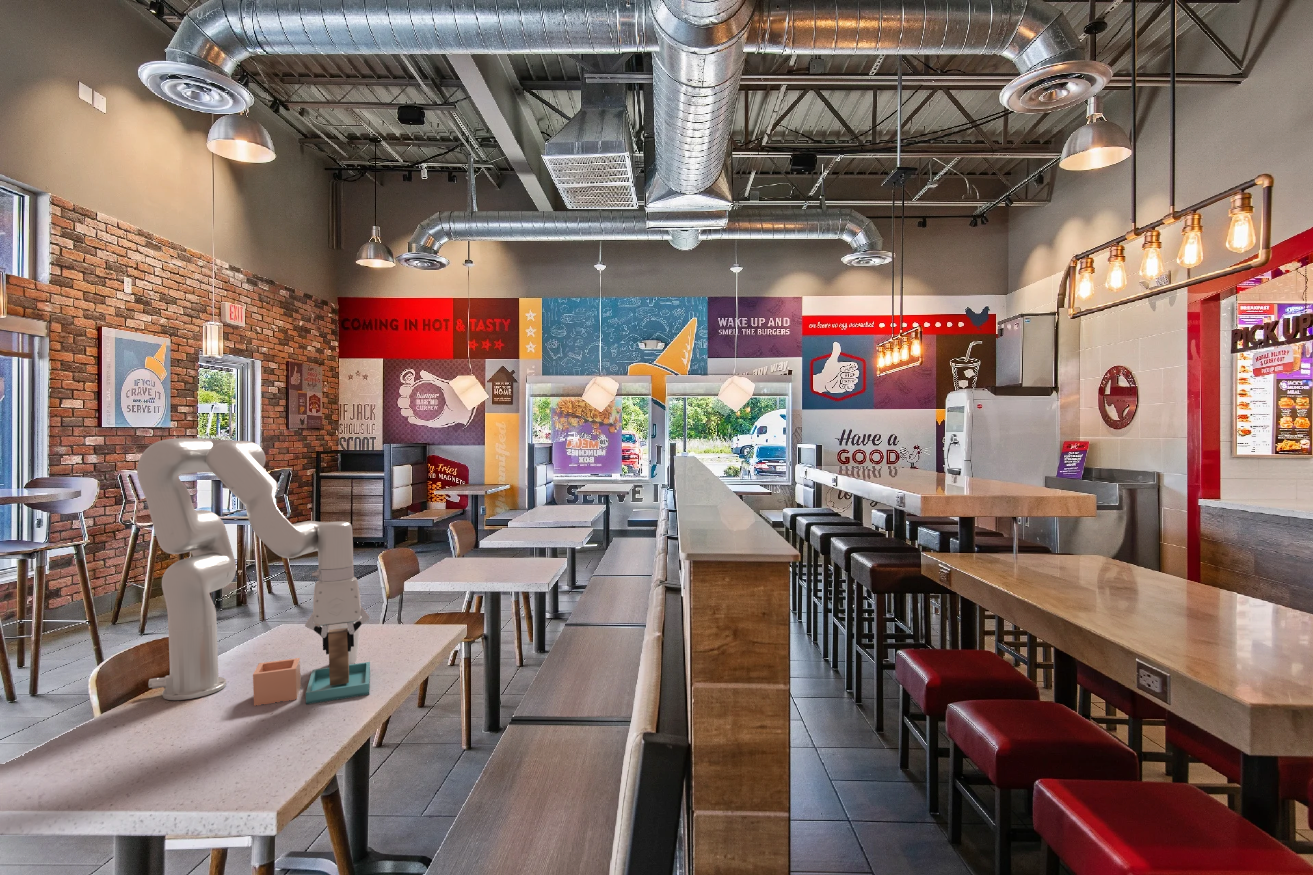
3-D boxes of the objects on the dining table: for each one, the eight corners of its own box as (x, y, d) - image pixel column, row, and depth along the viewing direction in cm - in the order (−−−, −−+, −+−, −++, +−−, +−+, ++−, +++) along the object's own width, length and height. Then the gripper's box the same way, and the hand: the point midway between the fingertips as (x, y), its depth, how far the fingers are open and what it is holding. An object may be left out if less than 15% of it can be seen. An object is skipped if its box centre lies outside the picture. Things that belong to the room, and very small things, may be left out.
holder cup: (253, 705, 154) (252, 674, 154) (260, 692, 162) (259, 663, 162) (296, 699, 157) (295, 668, 157) (300, 686, 165) (299, 657, 165)
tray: (306, 704, 154) (305, 693, 154) (312, 679, 170) (312, 669, 170) (369, 694, 159) (368, 683, 159) (370, 671, 174) (369, 661, 174)
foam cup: (353, 668, 177) (351, 618, 177) (317, 669, 177) (315, 619, 177) (369, 656, 186) (367, 608, 186) (335, 657, 187) (333, 609, 187)
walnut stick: (329, 685, 162) (328, 634, 161) (330, 679, 165) (329, 629, 165) (348, 682, 163) (347, 631, 163) (349, 677, 167) (347, 627, 167)
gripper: (295, 580, 157) (297, 661, 158) (374, 573, 164) (376, 650, 164) (298, 575, 164) (301, 651, 165) (374, 568, 171) (376, 642, 171)
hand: (338, 650), depth 164 cm, fingers closed on walnut stick, 4 cm apart
